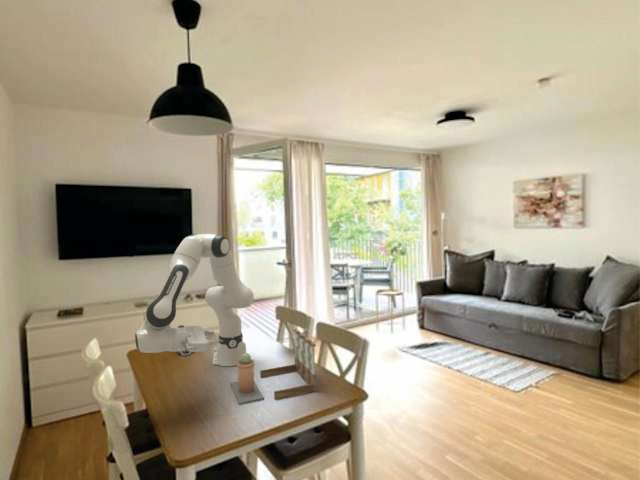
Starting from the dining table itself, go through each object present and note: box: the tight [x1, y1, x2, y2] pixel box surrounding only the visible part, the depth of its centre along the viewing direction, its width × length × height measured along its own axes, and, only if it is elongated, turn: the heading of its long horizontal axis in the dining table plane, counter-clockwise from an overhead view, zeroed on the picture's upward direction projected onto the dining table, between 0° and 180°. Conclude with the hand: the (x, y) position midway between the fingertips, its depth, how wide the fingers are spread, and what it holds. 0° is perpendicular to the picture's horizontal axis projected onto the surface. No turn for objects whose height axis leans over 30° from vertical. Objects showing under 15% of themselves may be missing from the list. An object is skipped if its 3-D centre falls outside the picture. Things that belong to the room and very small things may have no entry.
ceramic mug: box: [176, 349, 193, 357], centre depth 204 cm, size 11×8×8 cm
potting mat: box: [230, 380, 265, 405], centre depth 156 cm, size 20×10×1 cm, turn 23°
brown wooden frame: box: [259, 328, 317, 401], centre depth 163 cm, size 24×18×20 cm
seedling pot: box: [236, 352, 255, 393], centre depth 156 cm, size 7×7×16 cm
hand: (216, 337), depth 152 cm, fingers open, 8 cm apart
